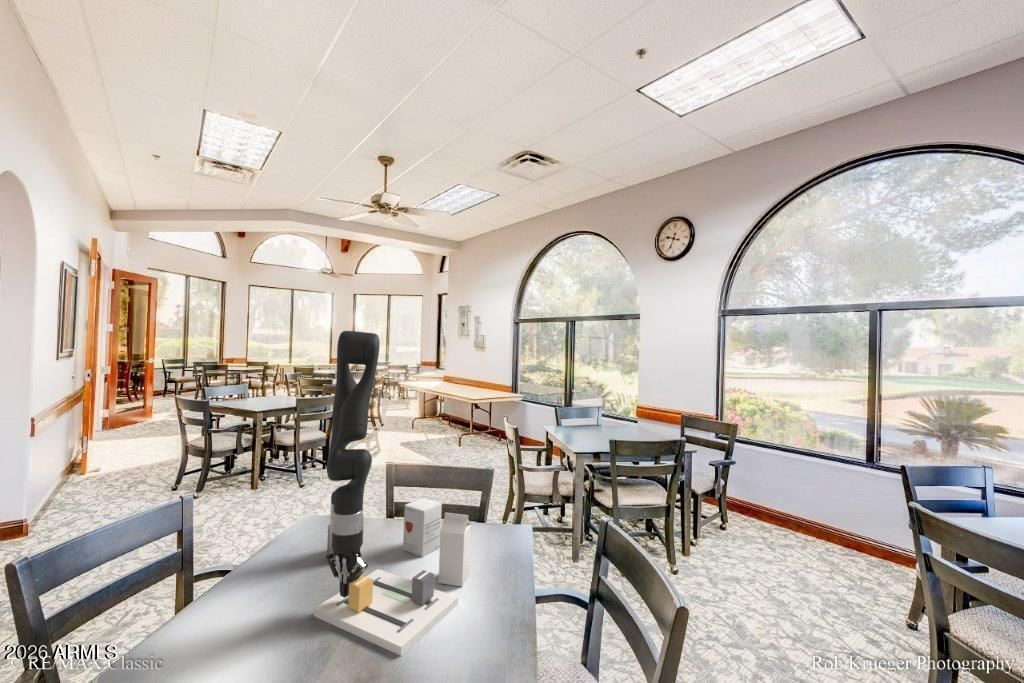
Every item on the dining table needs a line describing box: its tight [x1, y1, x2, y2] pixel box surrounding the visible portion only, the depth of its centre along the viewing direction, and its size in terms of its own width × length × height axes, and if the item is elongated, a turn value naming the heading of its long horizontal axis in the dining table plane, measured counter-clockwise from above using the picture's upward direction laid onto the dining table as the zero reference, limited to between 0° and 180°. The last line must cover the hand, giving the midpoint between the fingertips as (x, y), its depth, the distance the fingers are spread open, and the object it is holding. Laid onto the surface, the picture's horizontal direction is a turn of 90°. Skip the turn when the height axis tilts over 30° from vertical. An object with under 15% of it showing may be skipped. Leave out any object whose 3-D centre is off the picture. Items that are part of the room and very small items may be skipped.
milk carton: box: [438, 512, 472, 587], centre depth 130 cm, size 7×7×19 cm
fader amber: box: [348, 575, 373, 612], centre depth 111 cm, size 4×4×6 cm
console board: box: [313, 568, 459, 657], centre depth 114 cm, size 28×22×2 cm
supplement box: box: [402, 497, 443, 558], centre depth 148 cm, size 9×9×15 cm
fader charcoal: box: [411, 569, 435, 605], centre depth 115 cm, size 4×4×6 cm
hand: (345, 595), depth 114 cm, fingers closed
